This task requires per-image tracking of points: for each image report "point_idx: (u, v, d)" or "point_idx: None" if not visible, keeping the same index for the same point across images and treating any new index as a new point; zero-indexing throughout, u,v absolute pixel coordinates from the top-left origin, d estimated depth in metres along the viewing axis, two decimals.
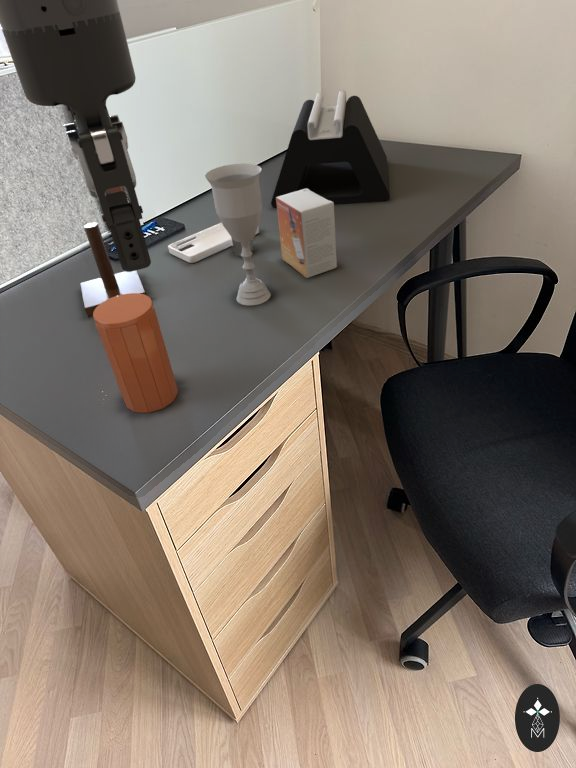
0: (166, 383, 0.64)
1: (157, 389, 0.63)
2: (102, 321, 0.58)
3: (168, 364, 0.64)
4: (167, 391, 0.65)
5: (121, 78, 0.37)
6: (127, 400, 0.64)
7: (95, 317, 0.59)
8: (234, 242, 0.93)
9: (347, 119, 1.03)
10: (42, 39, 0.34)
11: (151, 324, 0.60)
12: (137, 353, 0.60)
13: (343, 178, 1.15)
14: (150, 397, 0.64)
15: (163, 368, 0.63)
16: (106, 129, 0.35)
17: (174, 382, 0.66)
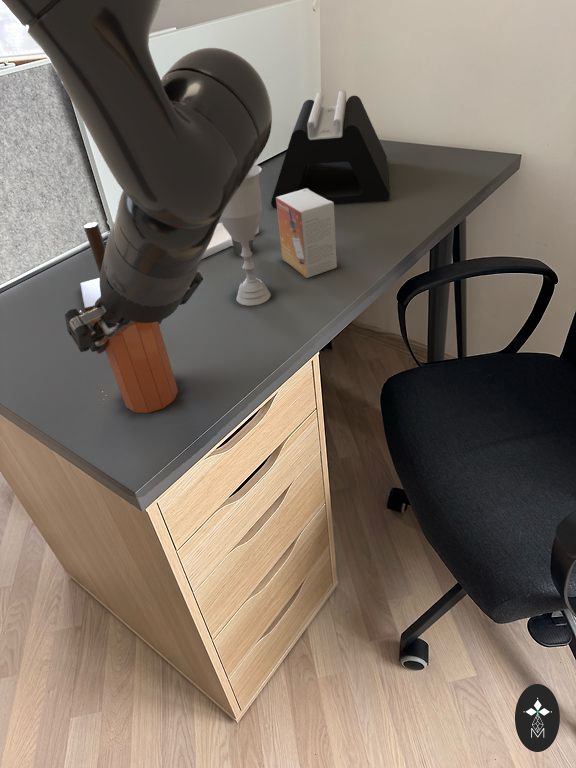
0: (166, 383, 0.64)
1: (157, 389, 0.63)
2: None
3: (168, 364, 0.64)
4: (167, 391, 0.65)
5: (131, 318, 0.50)
6: (127, 400, 0.64)
7: None
8: (234, 242, 0.93)
9: (347, 119, 1.03)
10: (103, 268, 0.48)
11: (151, 324, 0.60)
12: (136, 353, 0.60)
13: (343, 178, 1.15)
14: (150, 397, 0.63)
15: (163, 368, 0.63)
16: (78, 327, 0.51)
17: (174, 382, 0.66)
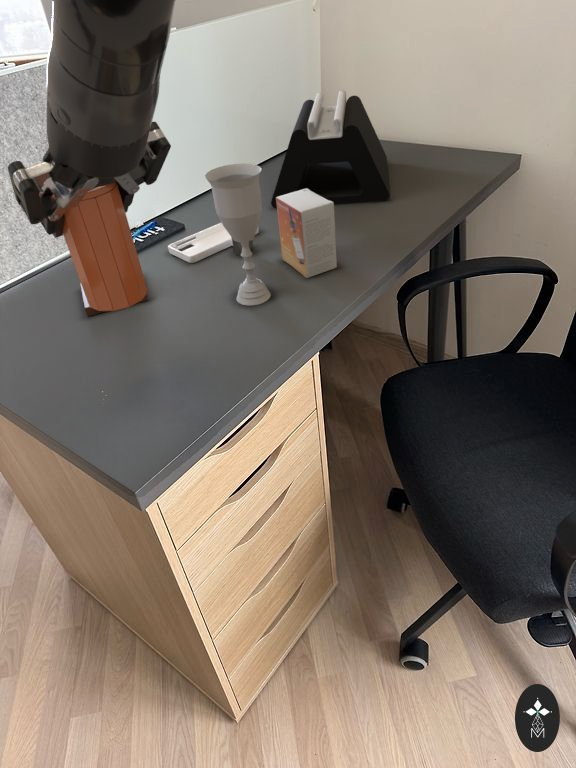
0: (133, 277, 0.58)
1: (122, 282, 0.57)
2: None
3: (135, 256, 0.58)
4: (134, 287, 0.58)
5: (82, 169, 0.44)
6: (89, 296, 0.58)
7: None
8: (234, 242, 0.93)
9: (347, 119, 1.03)
10: (47, 101, 0.41)
11: (114, 202, 0.53)
12: (97, 234, 0.53)
13: (343, 178, 1.15)
14: (114, 292, 0.57)
15: (129, 258, 0.56)
16: (22, 181, 0.44)
17: (143, 279, 0.59)
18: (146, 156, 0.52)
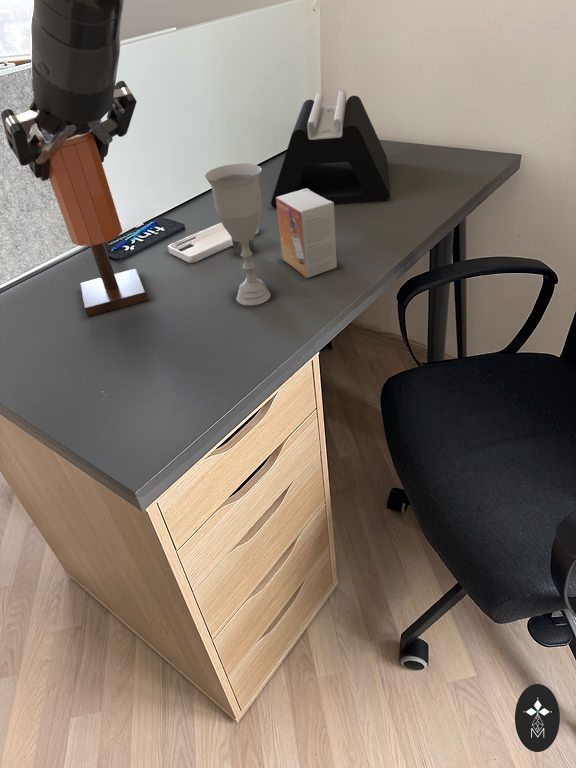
0: (108, 216, 0.68)
1: (99, 220, 0.68)
2: None
3: (110, 199, 0.68)
4: (110, 225, 0.69)
5: (61, 115, 0.55)
6: (72, 233, 0.69)
7: None
8: (234, 242, 0.93)
9: (347, 119, 1.03)
10: (31, 58, 0.52)
11: (91, 150, 0.64)
12: (77, 177, 0.64)
13: (343, 178, 1.15)
14: (93, 228, 0.68)
15: (104, 200, 0.67)
16: (13, 125, 0.55)
17: (117, 220, 0.70)
18: (117, 111, 0.63)
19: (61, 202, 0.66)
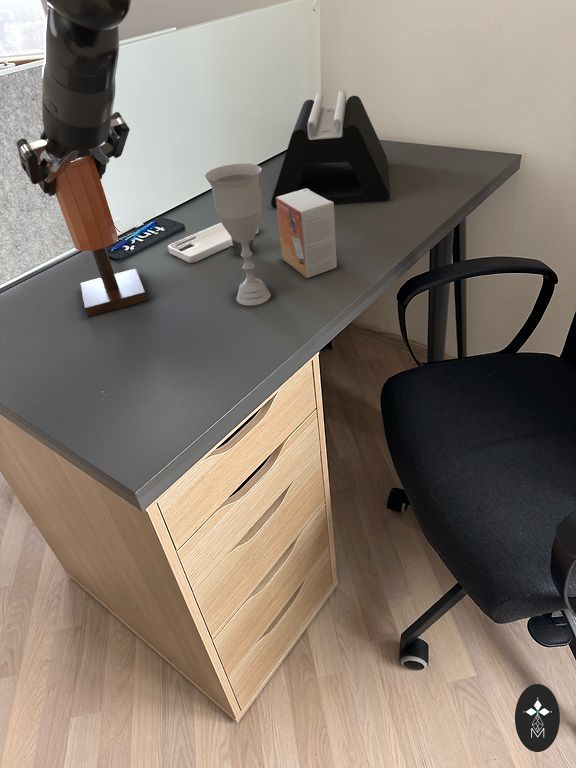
0: (106, 225, 0.80)
1: (98, 229, 0.79)
2: None
3: (108, 210, 0.80)
4: (107, 233, 0.80)
5: (66, 143, 0.66)
6: (75, 240, 0.80)
7: None
8: (234, 242, 0.93)
9: (347, 119, 1.03)
10: (42, 98, 0.63)
11: (91, 170, 0.75)
12: (79, 192, 0.75)
13: (343, 178, 1.15)
14: (93, 236, 0.79)
15: (103, 211, 0.78)
16: (26, 152, 0.66)
17: (114, 228, 0.81)
18: (113, 137, 0.74)
19: (66, 214, 0.78)
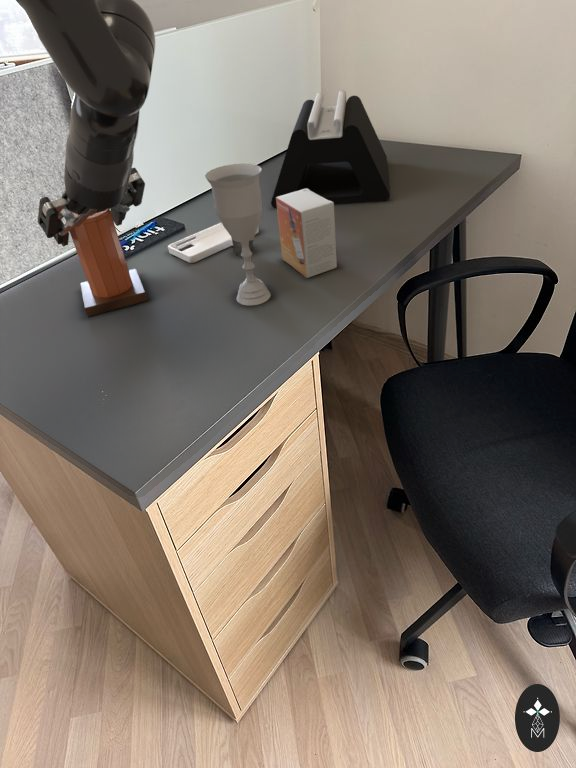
0: (122, 274, 0.84)
1: (114, 277, 0.83)
2: None
3: (123, 259, 0.84)
4: (123, 280, 0.85)
5: (87, 204, 0.70)
6: (92, 287, 0.85)
7: None
8: (234, 242, 0.93)
9: (347, 119, 1.03)
10: (65, 164, 0.68)
11: (108, 224, 0.80)
12: (97, 245, 0.80)
13: (343, 178, 1.15)
14: (109, 284, 0.84)
15: (119, 261, 0.83)
16: (50, 209, 0.70)
17: (129, 275, 0.86)
18: (131, 189, 0.79)
19: (84, 264, 0.82)
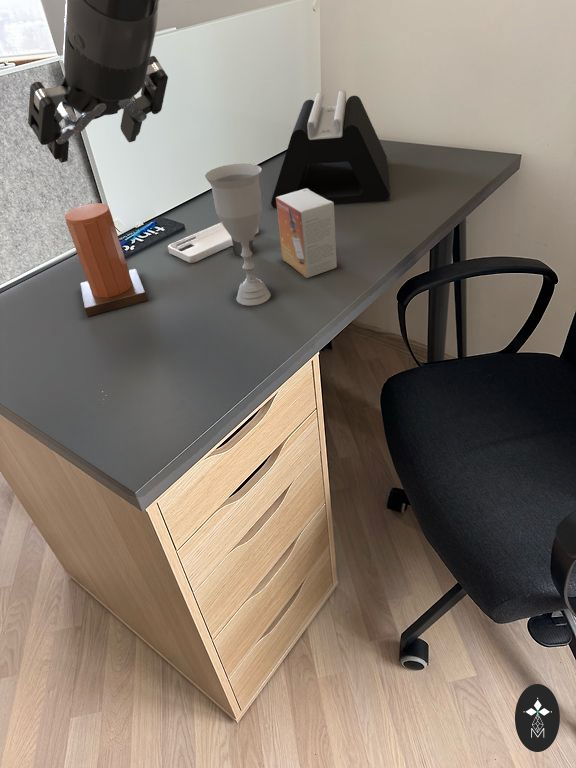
0: (122, 274, 0.84)
1: (114, 277, 0.83)
2: (71, 219, 0.78)
3: (123, 259, 0.84)
4: (123, 280, 0.85)
5: (93, 91, 0.53)
6: (92, 287, 0.85)
7: (66, 217, 0.79)
8: (234, 242, 0.93)
9: (347, 119, 1.03)
10: (65, 31, 0.50)
11: (108, 224, 0.80)
12: (97, 245, 0.80)
13: (343, 178, 1.15)
14: (109, 284, 0.84)
15: (119, 261, 0.83)
16: (44, 98, 0.53)
17: (129, 275, 0.86)
18: (149, 88, 0.61)
19: (84, 264, 0.82)
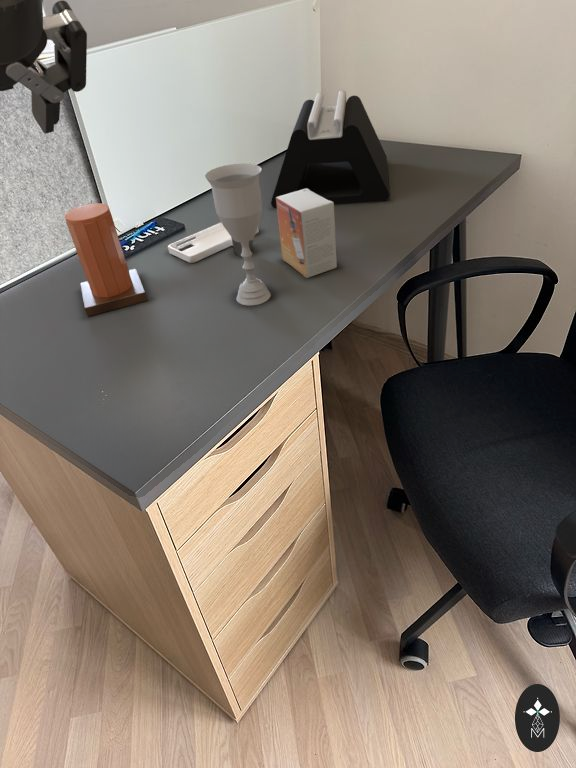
0: (122, 274, 0.84)
1: (114, 277, 0.83)
2: (71, 219, 0.78)
3: (123, 259, 0.84)
4: (123, 280, 0.85)
5: None
6: (92, 287, 0.85)
7: (66, 217, 0.79)
8: (234, 242, 0.93)
9: (347, 119, 1.03)
10: None
11: (108, 224, 0.80)
12: (97, 245, 0.80)
13: (343, 178, 1.15)
14: (109, 284, 0.84)
15: (119, 261, 0.83)
16: None
17: (129, 275, 0.86)
18: (63, 51, 0.41)
19: (84, 264, 0.82)
